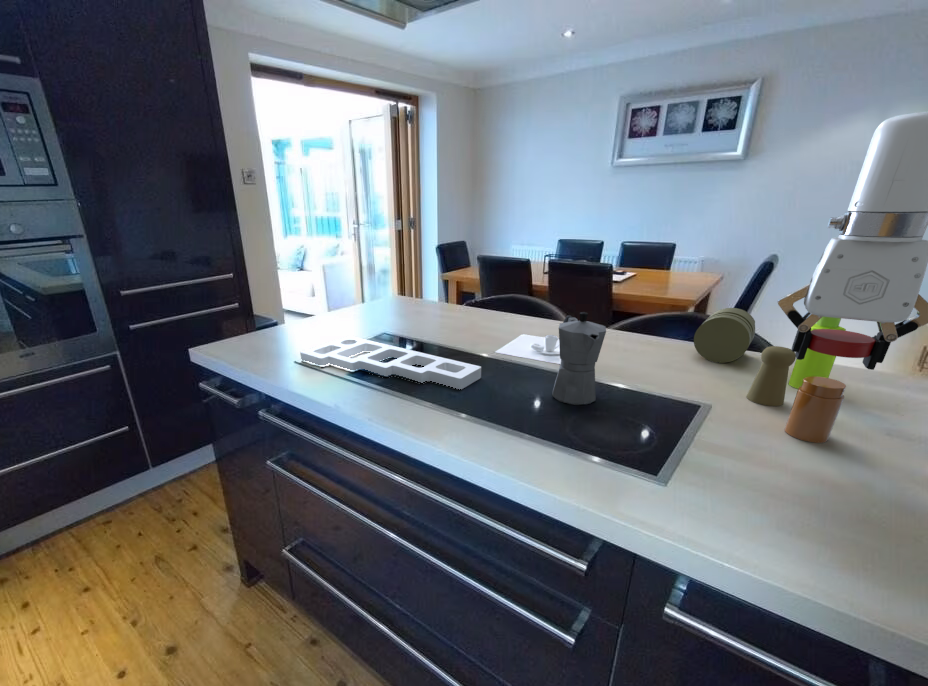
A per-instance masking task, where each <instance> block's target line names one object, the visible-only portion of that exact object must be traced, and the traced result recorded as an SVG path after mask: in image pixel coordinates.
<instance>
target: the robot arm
mask: <svg viewBox="0 0 928 686" xmlns="http://www.w3.org/2000/svg"><path fill="white" fill-rule="evenodd" d="M826 228H827V229H834V230H837V231H838V236H834V237H831V238H830V240H829V242H828V243H827V245H826V247H825V248H824V250H823V252H822V254H821V257H820V258H819V260H818V262H817V265H816V267H815V270H814V271H813V273H812V276H811V279H810V281H809V283H807V284H805V285H803V286H801V287H799V288H797V289H796V290H793V291H791V292H789V293H788V294H786V295H784V296H782V297H780V298H778V299H777V305H778V307H779V308H780V309H781V310H782V312H783V313H784V314H785V315H786V317H787V319H788V320H789V321H790V322H791V323H792V324H793V325H794V326H795V328H796V329H797V331H796V333H795V336H794V340H793V342H792V346H791V350H792V352H795V355H796V359H798V360H802V359H804V357H805V354H806V351H807V348H808V345H809V343H810V340H811V337H812V333H811V327H812V326H813V325H814V324H815V323H817V322H818V321H819V320H820V319H821V318H822V317H833V318H841V319H845V320H854V321H855V320H856V321H863V322H864V321H866V322H876V325H877V328H878V332H877V333H876V335H875V334H874V336H871V337H872V338H874V339H875V340H876V341H875V343H874V346H873V349H872V351H871V354H870V356H868V357H865V358H862V364H863V365H864V368H866V369H867V370H872V371H874V370H875V368H876V366H877V363H878V364H882V363H883V362H884V360H885V358H886V355H887V353H888V350H889V348H890V346H891V343H894V342H895V341H897V340H898V339H899V338H901V337H904V336H906V335H908V334H910V333H912V332H914V331H916V330H918V329H919V328H921V327H923V326H924V327H925V326H926V325H927V324H928V301H927V300H926V299H925V298H924V297H923V296H922V295H921V294H920V290H921V287H922V284H923V281H924V279H925V275H926V271H927V267H928V239H923V238H924V235H925V233H926V231H927V228H928V110H925V111H916V112H909V113H903V114H898V115H894V116H891V117H888V118H886V119H885V120H883V121H882V122H880V123H879V125H878V126H877V127H876V128H875V130H874V132H873V134H872V137H871V139H870V143H869V145H868V148H867V152H866V154H865V157H864V161H863V164H862V166H861V169H860V172H859V175H858V179H857V181H856V184H855V187H854V190H853V192H852V196H851V199H850V201H849V204H848V208H847V211H845V212H844V214H842V215H839V216H835V217H830V218H829V220H828V223H827V227H826ZM802 299H803V305H804V307H805V310H806V313H805V314H803V316H802V314H801V313H800V312H799V311H798V310H797V309H796V308H795V305H794V304H795V303H796V302H798V301H800V300H802ZM913 310H915V311H916V313H915V315H913V316H911V314H912V312H913ZM910 316H911V317H910ZM909 317H910V318H909ZM796 359H795V360H796Z"/></svg>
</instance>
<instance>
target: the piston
mask: <svg viewBox="0 0 928 686" xmlns="http://www.w3.org/2000/svg"><path fill="white" fill-rule="evenodd" d="M755 334H756V320H755V319H754V317H753V316H752V315H751V314H750V313H749V312H748V311H746V310H744V309H742V308H737V307H725V308H721V309H719V310H716V311H715V312H713V313H712V314H710V315H709V317H707V319H705V320H704V321H703V322H702V323H701V324H700V325H699V327H698V328H697V329H696V331H695V332H694V336H693V344H694V349H695V350H696V352H697V354H699V356H701V357H702V358H703V359H705V360H707V361H709V362H712V361H713V363H717V362H719V364H724V363H730V362H733V361H736V360H738V359H739V358H741V357H742V356H743V355H744V354H746V352H747V350H748V349H749V347H750V345H751V343H752V341H753V340H754V337H755Z"/></svg>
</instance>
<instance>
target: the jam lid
mask: <svg viewBox="0 0 928 686" xmlns="http://www.w3.org/2000/svg"><path fill="white" fill-rule="evenodd" d="M811 333H812V337H811V340H810V343H809V345H808V348H809V349H810V350H813V351H816V352H819V353H823V354H827V355H832V356H836V357H839V358H847V359H848V358H849V359H864V358H865V357H868V356H870V354H871V351H872V349H873V346H874V343H875V341H876V340H875V339H874V338H872V337H873V336H871V335H867V334H864V333H860V332H855V331H849V330H846V331H844V330H835V329H815V330H812V331H811Z"/></svg>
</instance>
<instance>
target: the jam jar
mask: <svg viewBox="0 0 928 686" xmlns="http://www.w3.org/2000/svg"><path fill="white" fill-rule="evenodd" d="M846 388H847V385H846V384H845V383H844V382H842V381H839V380H837V379H833V378H830V377H829V378H825V377H817V376H810V377H805V378H804V379H803V384H802V386H800V387H799V388H798V389H797V392H796V395H795V397H794V401H793V403H792V406H791V409H790V412H789V415H788V418H787V421H786V423H785V427H784V432H785V433H786V434H787V435H789V436H790V437H793V438H795V439H798V440H801V441H804V442H808V443H814V444H816V443H817V444H821V443H822V444H823V443H826V442H828V441H829V438H830V436H831V433H832V431H833V428H834V426H835V423H836V420H837V418H838V415H839V414H840V410H841V408H842V406H843V403H844V400H845V391H846Z"/></svg>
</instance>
